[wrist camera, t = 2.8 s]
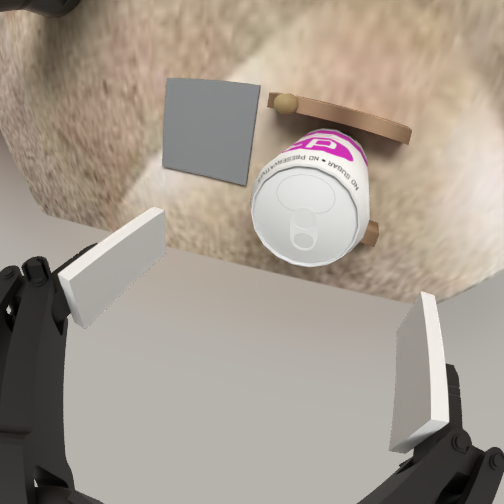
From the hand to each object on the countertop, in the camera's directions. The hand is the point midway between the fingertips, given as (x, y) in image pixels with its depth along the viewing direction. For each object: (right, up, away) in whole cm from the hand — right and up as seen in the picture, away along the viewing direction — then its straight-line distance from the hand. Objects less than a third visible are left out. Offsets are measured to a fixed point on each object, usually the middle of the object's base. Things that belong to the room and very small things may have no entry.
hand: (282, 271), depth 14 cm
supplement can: (+7, +10, +17) cm, 21 cm away
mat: (-7, +16, +19) cm, 26 cm away
